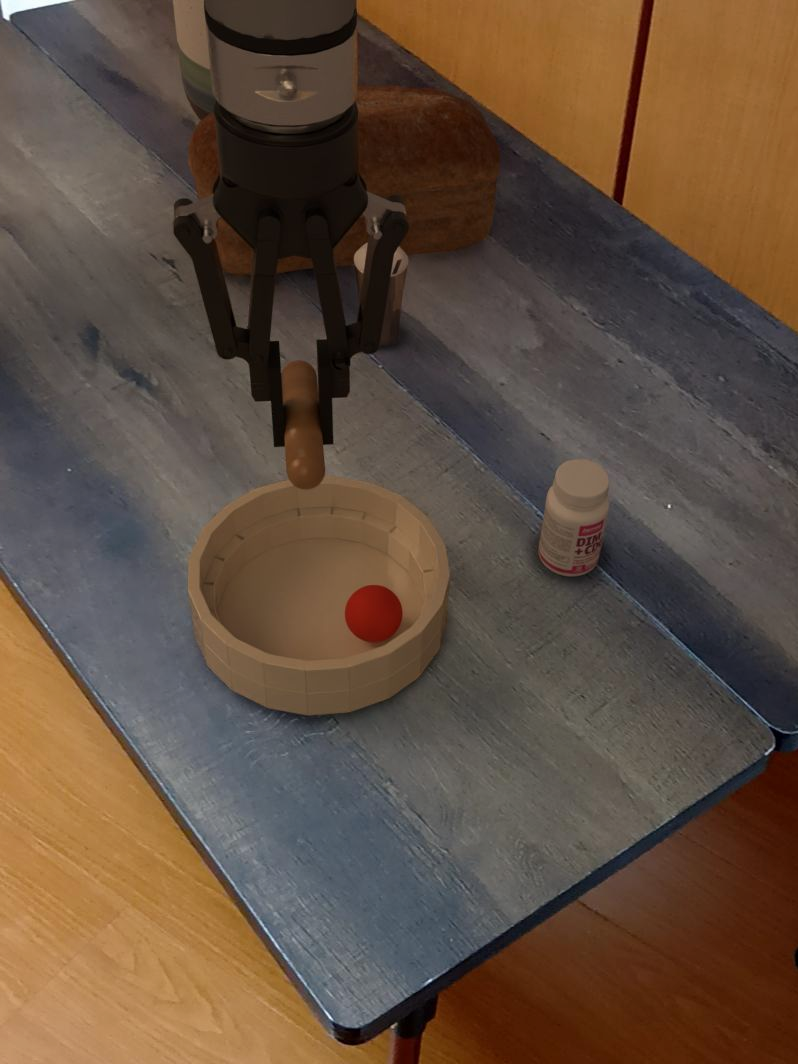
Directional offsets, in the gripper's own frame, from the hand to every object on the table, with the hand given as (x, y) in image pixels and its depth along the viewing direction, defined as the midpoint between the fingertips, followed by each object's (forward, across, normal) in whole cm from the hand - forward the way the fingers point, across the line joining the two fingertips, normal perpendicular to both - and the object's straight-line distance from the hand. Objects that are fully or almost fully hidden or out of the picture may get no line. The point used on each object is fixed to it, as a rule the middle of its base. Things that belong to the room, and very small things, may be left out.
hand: (302, 431), depth 86 cm
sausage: (0, 0, 0) cm, 0 cm away
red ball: (+12, +4, -6) cm, 14 cm away
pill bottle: (+15, +20, +1) cm, 25 cm away
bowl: (+15, +1, -4) cm, 15 cm away
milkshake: (+15, +8, +28) cm, 33 cm away
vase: (+15, -1, +65) cm, 67 cm away
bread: (+15, +6, +43) cm, 46 cm away
